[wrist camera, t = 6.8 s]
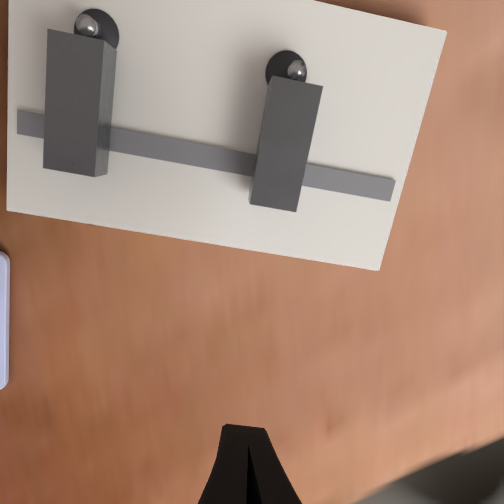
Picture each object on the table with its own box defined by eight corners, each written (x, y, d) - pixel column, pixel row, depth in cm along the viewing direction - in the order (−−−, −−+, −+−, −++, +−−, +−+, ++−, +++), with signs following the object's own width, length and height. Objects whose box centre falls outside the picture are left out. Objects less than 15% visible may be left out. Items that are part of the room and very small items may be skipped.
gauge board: (24, 205, 19) (4, 211, 17) (29, -51, 16) (6, -74, 14) (368, 262, 20) (380, 272, 19) (429, 40, 18) (449, 29, 16)
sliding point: (248, 199, 17) (249, 204, 16) (272, 59, 16) (277, 49, 14) (290, 206, 17) (296, 212, 16) (319, 68, 16) (328, 60, 14)
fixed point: (60, 165, 16) (42, 168, 15) (67, 15, 15) (48, 0, 13) (107, 174, 17) (94, 177, 15) (118, 26, 15) (106, 12, 13)
